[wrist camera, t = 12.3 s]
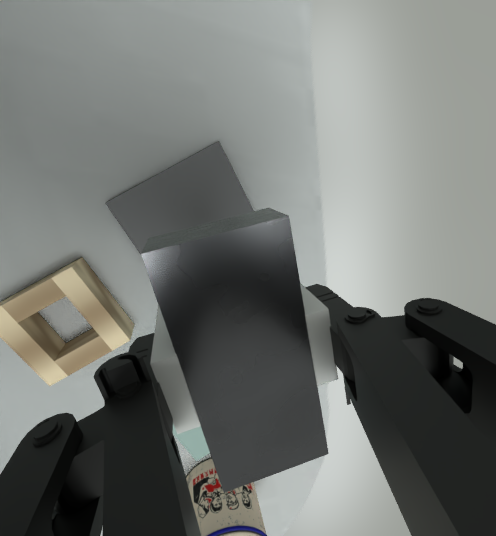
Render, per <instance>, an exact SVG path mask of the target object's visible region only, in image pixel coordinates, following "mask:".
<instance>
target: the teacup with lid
mask: <svg viewBox="0 0 496 536" xmlns="http://www.w3.org/2000/svg"><path fill="white" fill-rule="evenodd" d="M186 480H187V484H188V488H189V492H190V495H191V499H192V503H193V507H194V510H195V514H196V518H197V521H198V525H199V529H200V533H201V536H267V535H266V531H265V527H264V523H263V519H262V515H261V511H260V507H259V503H258V499H257V495H256V491H255V487H254V483H253V482H252V483H249V484H247V485H244V486H241V487H239V488H236V489H233V490H231V491H228V492H225V493H224V492H223V489H222V486H221V483H220V480H219V477H218V475H217V472H216V469H215V466H214V463H213V460H212V459H209V460H206V461H204V462H202V463H201V464H199V465H198V466H196V467H195V468H194V469H193V470H192V471H191V472H190V473H189V475H188V476H187V478H186Z"/></svg>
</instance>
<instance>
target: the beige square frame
mask: <svg viewBox="0 0 496 536" xmlns="http://www.w3.org/2000/svg"><path fill="white" fill-rule="evenodd" d="M65 296H67V297H68V299H69V300H70V301H71V302H72V303H73V305H74V306H75V307H76V308H77V309H78V311H79V312H80V313H81V314H82V315H83V316H84V318H85V319H86V320H87V321H88V322H89V324H90V325H91V326H92V327H93V328H92V329H90V330H88V331H87V332H85V333H83V334H81V335H80V336H78V337H76V338H74V339H72V340H71V341H69V342H67V343H65V342H64V341H63V340H62V339H61V337H60V336H59V335H58V334H57V333H56V332H55V331H54V330H53V329H52V327H51V326H50V325H49V324H48V323H47V322H46V321H45V320H44V319H43V318H42V316H41V315H40V314H39V313H38V311H40V310H42V309H44V308H45V307H47V306H49V305H51V304H53V303H54V302H56V301H58V300H60V299H61V298H63V297H65ZM133 328H134V324H133V322H132V321H131V320H130V318H129V317H128V316H127V314H126V313H125V312H124V311H123V309H122V308H121V307H120V305H119V304H118V303H117V302H116V300H115V299H114V298H113V296H112V295H111V294H110V292H109V291H108V290H107V289H106V287H105V286H104V285H103V283H102V282H101V281H100V280H99V278H98V277H97V276H96V274H95V273H94V272H93V270H92V269H91V268H90V267H89V265H88V264H87V263H86V261H85V260H84V259H83V258H82V257H81V258H80V259H78V260H76V261H74V262H72V263H71V264H69V265H67V266H65V267H63V268H61V269H60V270H58V271H56V272H54V273H52V274H51V275H49V276H47V277H45V278H43V279H42V280H40V281H38V282H36V283H34V284H32V285H31V286H29V287H27V288H25V289H23V290H22V291H20V292H18V293H16V294H14V295H13V296H11V297H9V298H7V299H5V300H3V301H2V302H0V337H1V338H2V339H3V340H4V341H5V342H6V343H7V344H8V345H9V346H10V347H11V348H12V349H13V350H14V351H15V352H16V353H17V354H18V355H19V356H20V357H21V358H22V359H23V360H24V361H25V362H26V363H27V364H28V365H29V366H30V367H31V368H32V369H33V370H34V371H35V372H36V373H37V374H38V375H39V376H40V377H41V378H42V379H43V380H44V381H45V382H46V383H47V384H48V385H49V386H51V385H53V384H55V383H56V382H58V381H60V380H62V379H63V378H65V377H67V376H69V375H70V374H72V373H74V372H76V371H77V370H79V369H81V368H83V367H84V366H86V365H88V364H90V363H91V362H93V361H95V360H97V359H98V358H100V357H102V356H104V355H105V354H107V353H109V352H111V351H112V350H114V349H116V348H118V347H119V346H121V345H123V344H125V343H127V342H128V341H130V339H131V336H132V332H133Z"/></svg>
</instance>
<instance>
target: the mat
mask: <svg viewBox="0 0 496 536" xmlns="http://www.w3.org/2000/svg"><path fill="white" fill-rule="evenodd" d="M106 205H107V206H108V208H109V209H110V211H111V212H112V213H113V215H114V216H115V218H116V219H117V221H118V222H119V224H120V225H121V227H122V228H123V229H124V231H125V232H126V234H127V235H128V237H129V238H130V240H131V241H132V243H133V244H134V245H135V247H136V248H137V250H138V251H139V253H140V254H141V253H142V251H143V249H144V246H145V244H146V242H147V240H148V238H150V237H154V236H158V235H162V234H166V233H170V232H174V231H178V230H182V229H186V228H190V227H194V226H198V225H202V224H206V223H210V222H214V221H218V220H222V219H226V218H230V217H234V216H238V215H242V214H246V213H250V212H254V211H253V209H252V207H251V205H250V202H249V200H248V198H247V196H246V194H245V192H244V190H243V188H242V186H241V184H240V182H239V180H238V178H237V176H236V174H235V172H234V170H233V168H232V166H231V164H230V162H229V160H228V158H227V156H226V154H225V152H224V150H223V148H222V146H221V144H220V142H219V141H218V142H216V143H214V144H212V145H211V146H209V147H207V148H205V149H203V150H201V151H199V152H198V153H196V154H194V155H192V156H190V157H188V158H187V159H185V160H183V161H181V162H179V163H177V164H176V165H174V166H172V167H170V168H168V169H166V170H165V171H163V172H161V173H159V174H157V175H155V176H154V177H152V178H150V179H148V180H146V181H144V182H143V183H141V184H139V185H137V186H135V187H133V188H132V189H130V190H128V191H126V192H124V193H122V194H121V195H119V196H117V197H115V198H113V199H111V200H110V201H108V202H106ZM141 256H142V255H141Z"/></svg>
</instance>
